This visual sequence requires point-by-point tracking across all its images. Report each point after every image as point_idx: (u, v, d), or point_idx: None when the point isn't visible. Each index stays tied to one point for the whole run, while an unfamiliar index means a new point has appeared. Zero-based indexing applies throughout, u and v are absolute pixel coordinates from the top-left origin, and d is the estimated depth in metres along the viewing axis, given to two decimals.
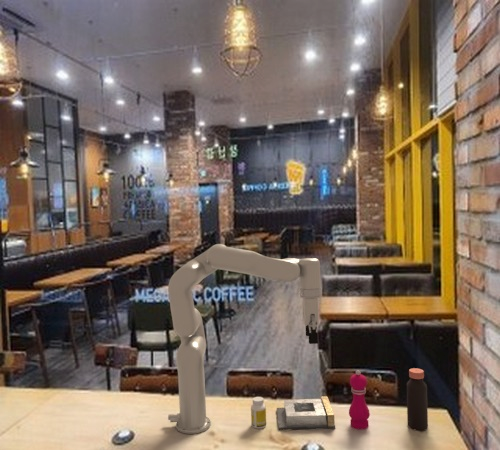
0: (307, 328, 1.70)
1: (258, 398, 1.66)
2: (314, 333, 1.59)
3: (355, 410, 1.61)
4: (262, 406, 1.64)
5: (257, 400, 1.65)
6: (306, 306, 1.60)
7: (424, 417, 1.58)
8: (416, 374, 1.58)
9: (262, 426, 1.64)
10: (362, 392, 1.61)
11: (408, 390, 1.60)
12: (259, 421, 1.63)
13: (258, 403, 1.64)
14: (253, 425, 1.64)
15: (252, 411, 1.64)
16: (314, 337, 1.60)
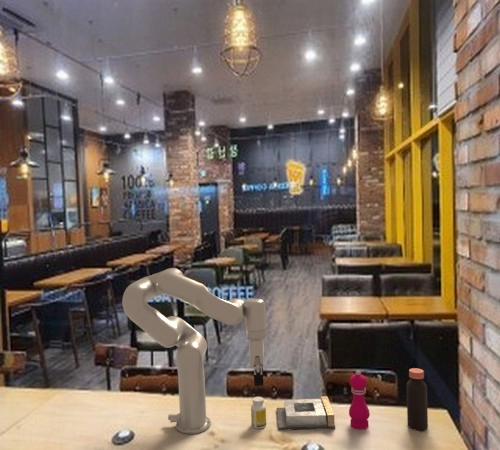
0: None
1: (258, 398, 1.66)
2: (259, 375, 1.59)
3: (355, 410, 1.61)
4: (262, 406, 1.64)
5: (257, 400, 1.65)
6: (251, 348, 1.60)
7: (424, 417, 1.58)
8: (416, 374, 1.58)
9: (262, 426, 1.64)
10: (362, 392, 1.61)
11: (408, 390, 1.60)
12: (259, 421, 1.63)
13: (258, 403, 1.64)
14: (253, 425, 1.64)
15: (252, 411, 1.64)
16: (259, 379, 1.59)
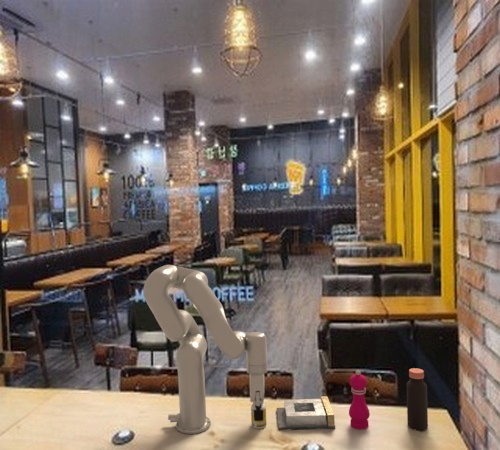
0: None
1: None
2: (259, 411, 1.62)
3: (355, 410, 1.61)
4: (262, 406, 1.64)
5: None
6: (251, 383, 1.61)
7: (424, 417, 1.58)
8: (416, 374, 1.58)
9: (262, 426, 1.64)
10: (362, 392, 1.61)
11: (408, 390, 1.60)
12: (259, 421, 1.63)
13: None
14: (253, 425, 1.64)
15: (252, 411, 1.64)
16: (259, 415, 1.62)
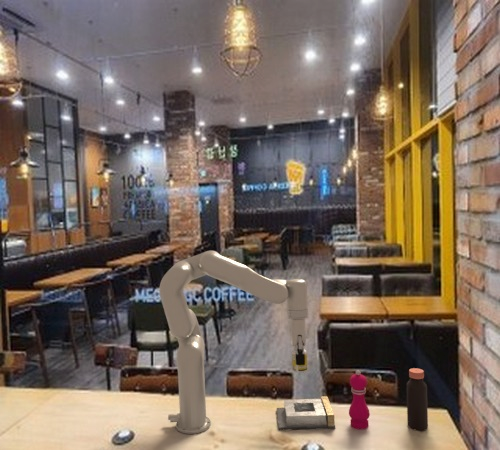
0: None
1: None
2: (301, 355, 1.64)
3: (355, 410, 1.61)
4: None
5: None
6: (293, 327, 1.64)
7: (424, 417, 1.58)
8: (416, 374, 1.58)
9: (304, 370, 1.66)
10: (362, 392, 1.61)
11: (408, 390, 1.60)
12: (301, 365, 1.66)
13: None
14: (295, 370, 1.67)
15: (293, 356, 1.67)
16: (301, 359, 1.64)
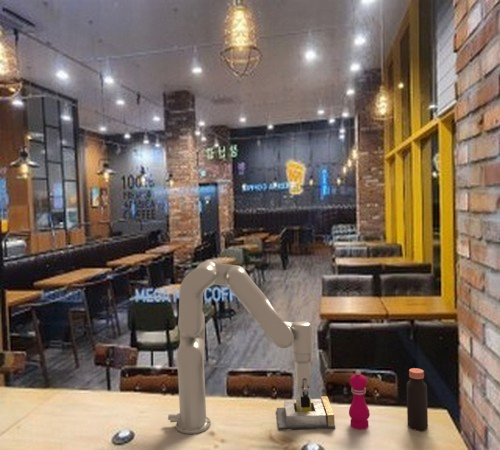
0: None
1: None
2: (306, 397, 1.63)
3: (355, 410, 1.61)
4: None
5: None
6: (298, 371, 1.64)
7: (424, 417, 1.58)
8: (416, 374, 1.58)
9: None
10: (362, 392, 1.61)
11: (408, 390, 1.60)
12: None
13: None
14: None
15: (297, 402, 1.68)
16: (306, 401, 1.64)
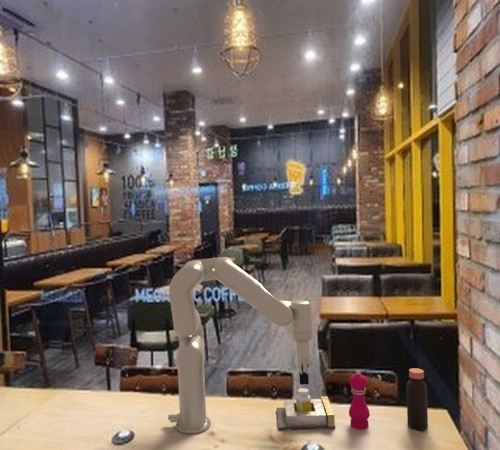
0: None
1: (303, 389, 1.70)
2: (305, 374, 1.68)
3: (355, 410, 1.61)
4: (308, 397, 1.68)
5: (303, 391, 1.69)
6: (298, 349, 1.64)
7: (424, 417, 1.58)
8: (416, 374, 1.58)
9: None
10: (362, 392, 1.61)
11: (408, 390, 1.60)
12: None
13: (304, 394, 1.68)
14: None
15: (297, 402, 1.68)
16: (305, 378, 1.68)
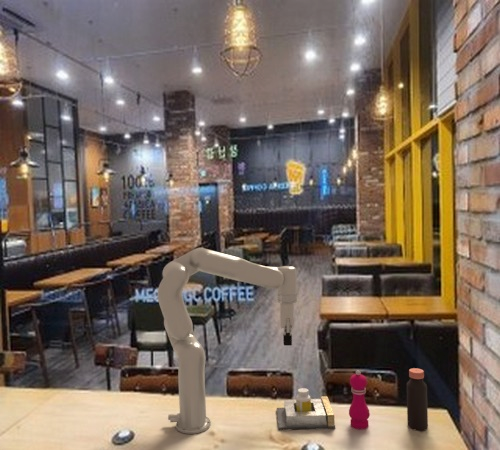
0: None
1: (303, 389, 1.70)
2: (288, 336, 1.77)
3: (355, 410, 1.61)
4: (307, 397, 1.68)
5: (303, 391, 1.69)
6: (282, 310, 1.73)
7: (424, 417, 1.58)
8: (416, 374, 1.58)
9: None
10: (362, 392, 1.61)
11: (408, 390, 1.60)
12: None
13: (304, 394, 1.68)
14: None
15: (297, 402, 1.68)
16: (288, 339, 1.77)
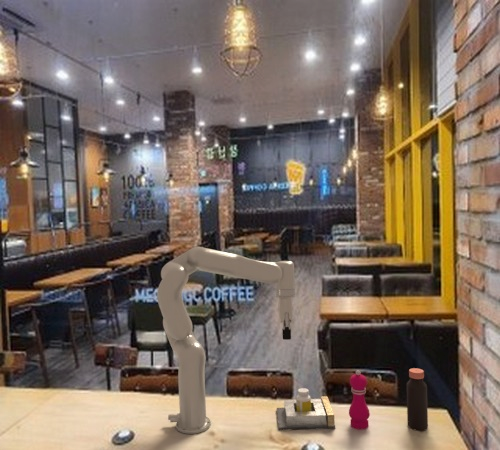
0: None
1: (303, 389, 1.70)
2: (287, 330, 1.78)
3: (355, 410, 1.61)
4: (308, 397, 1.68)
5: (303, 391, 1.69)
6: (281, 305, 1.75)
7: (424, 417, 1.58)
8: (416, 374, 1.58)
9: None
10: (362, 392, 1.61)
11: (408, 390, 1.60)
12: None
13: (304, 394, 1.68)
14: None
15: (297, 402, 1.68)
16: (287, 333, 1.78)
